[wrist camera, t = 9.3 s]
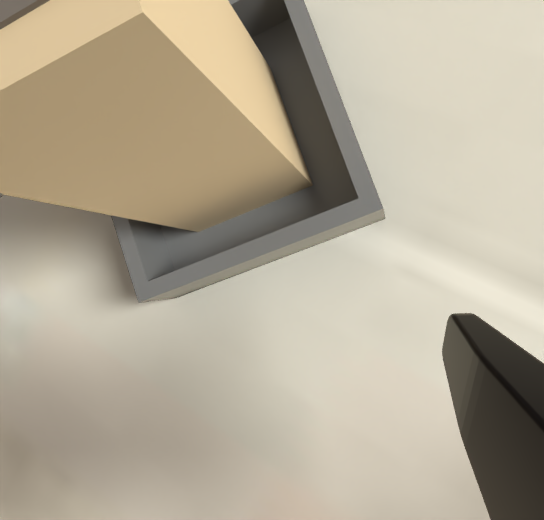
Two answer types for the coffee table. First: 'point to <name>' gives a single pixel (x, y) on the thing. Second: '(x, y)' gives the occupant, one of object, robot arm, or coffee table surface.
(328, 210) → the tray
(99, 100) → the kraft box
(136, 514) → the coffee table surface
